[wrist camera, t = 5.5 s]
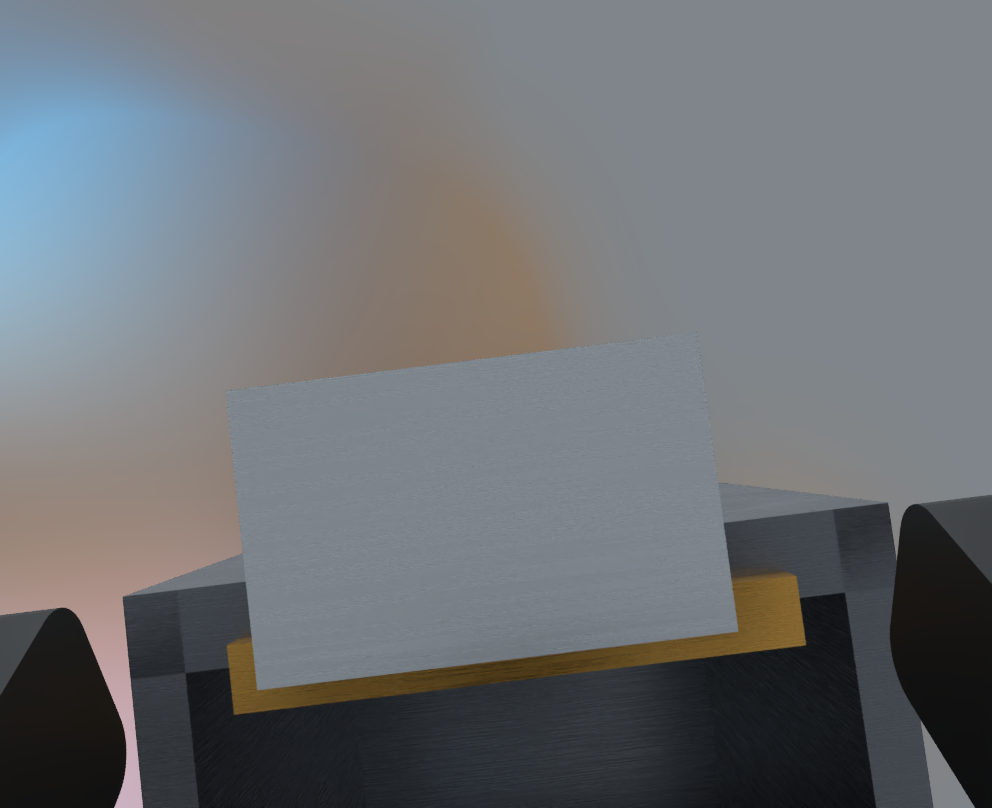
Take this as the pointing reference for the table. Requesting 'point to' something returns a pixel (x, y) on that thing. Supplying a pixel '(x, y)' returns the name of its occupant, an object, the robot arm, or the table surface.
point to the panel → (479, 511)
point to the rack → (561, 697)
